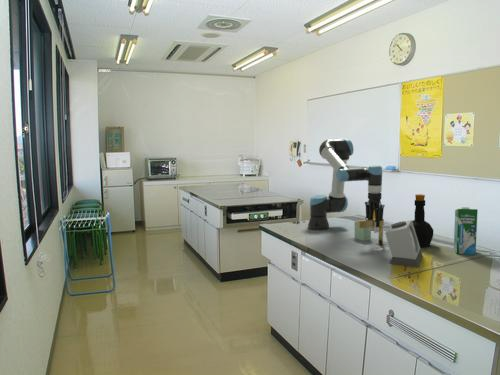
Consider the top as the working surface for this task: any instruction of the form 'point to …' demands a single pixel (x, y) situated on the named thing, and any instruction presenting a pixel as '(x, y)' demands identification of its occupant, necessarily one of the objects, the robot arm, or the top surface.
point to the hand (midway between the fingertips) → (373, 231)
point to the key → (371, 224)
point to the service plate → (372, 242)
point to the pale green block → (362, 233)
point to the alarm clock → (404, 244)
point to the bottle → (422, 223)
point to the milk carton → (465, 231)
